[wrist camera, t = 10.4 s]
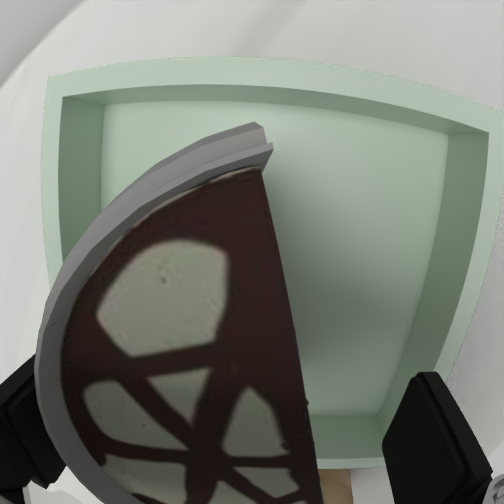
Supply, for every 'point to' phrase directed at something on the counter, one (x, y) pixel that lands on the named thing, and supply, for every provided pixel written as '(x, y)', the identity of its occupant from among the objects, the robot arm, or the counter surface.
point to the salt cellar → (336, 486)
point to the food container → (180, 341)
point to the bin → (310, 208)
